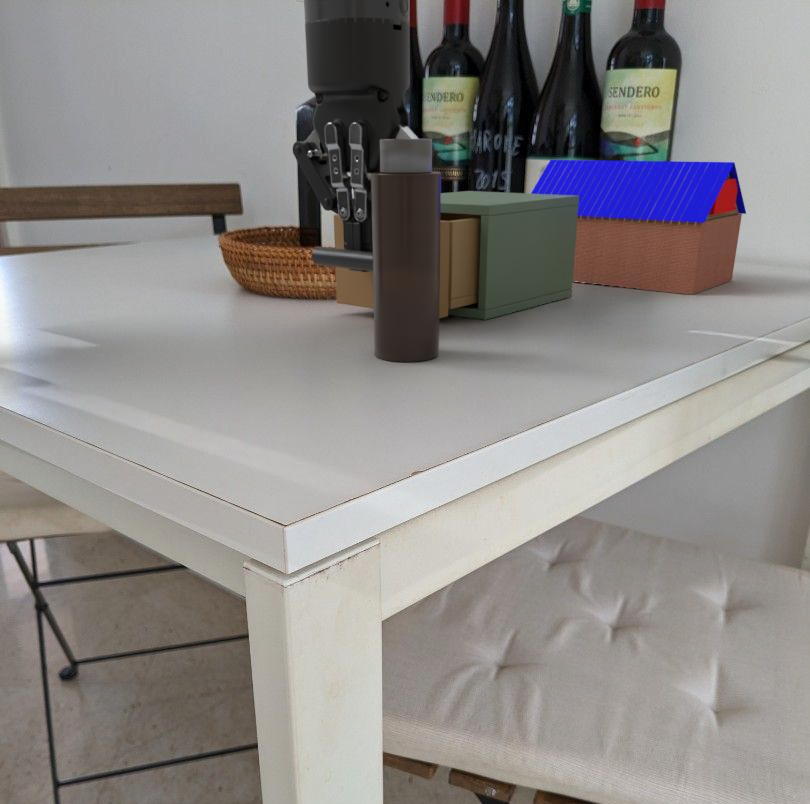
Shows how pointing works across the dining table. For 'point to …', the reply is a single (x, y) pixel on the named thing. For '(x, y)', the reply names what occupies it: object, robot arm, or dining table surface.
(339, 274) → the drawer
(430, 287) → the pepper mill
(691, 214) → the house
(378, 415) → the dining table surface
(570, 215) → the cabinet
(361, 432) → the dining table surface
